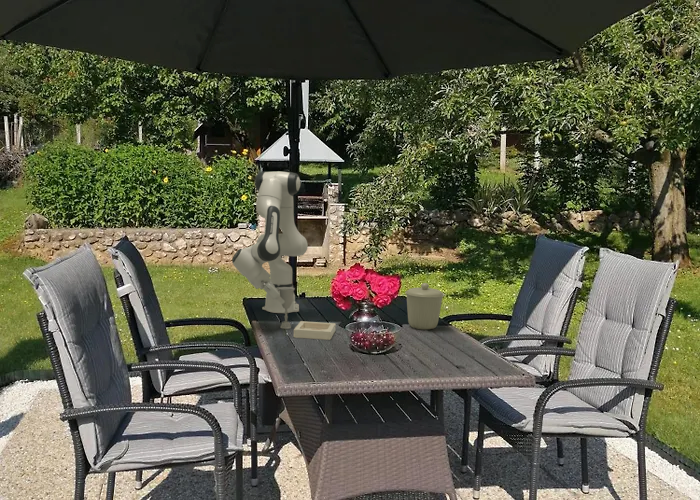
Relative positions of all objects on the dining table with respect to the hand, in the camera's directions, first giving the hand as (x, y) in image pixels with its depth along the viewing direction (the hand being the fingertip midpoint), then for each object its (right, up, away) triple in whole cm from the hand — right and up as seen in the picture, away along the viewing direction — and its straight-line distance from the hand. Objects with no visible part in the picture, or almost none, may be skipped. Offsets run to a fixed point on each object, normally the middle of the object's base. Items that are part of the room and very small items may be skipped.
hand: (282, 300), depth 311 cm
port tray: (+15, -14, -9) cm, 23 cm away
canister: (+65, -14, +12) cm, 67 cm away
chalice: (+2, -12, +2) cm, 13 cm away
